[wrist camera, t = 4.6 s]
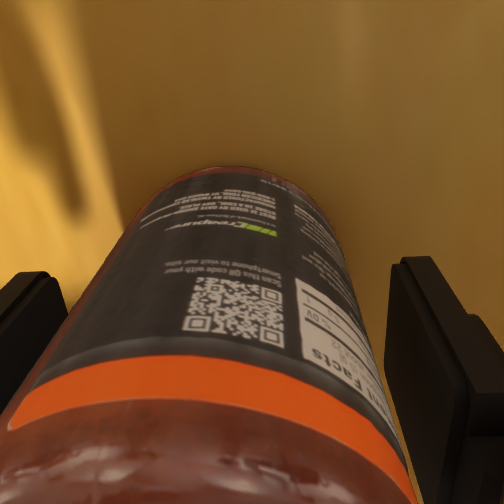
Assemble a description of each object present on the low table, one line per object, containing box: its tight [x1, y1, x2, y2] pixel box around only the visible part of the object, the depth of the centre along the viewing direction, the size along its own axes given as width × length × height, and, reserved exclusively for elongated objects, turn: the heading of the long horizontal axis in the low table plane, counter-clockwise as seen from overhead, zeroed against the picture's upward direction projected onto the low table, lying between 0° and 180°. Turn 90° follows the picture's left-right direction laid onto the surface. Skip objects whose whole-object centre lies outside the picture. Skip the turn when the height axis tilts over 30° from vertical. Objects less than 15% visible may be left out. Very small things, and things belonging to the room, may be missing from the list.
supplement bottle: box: [0, 166, 418, 504], centre depth 8 cm, size 6×6×11 cm
